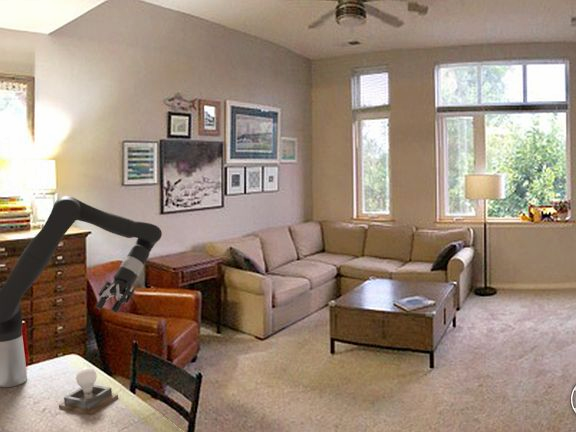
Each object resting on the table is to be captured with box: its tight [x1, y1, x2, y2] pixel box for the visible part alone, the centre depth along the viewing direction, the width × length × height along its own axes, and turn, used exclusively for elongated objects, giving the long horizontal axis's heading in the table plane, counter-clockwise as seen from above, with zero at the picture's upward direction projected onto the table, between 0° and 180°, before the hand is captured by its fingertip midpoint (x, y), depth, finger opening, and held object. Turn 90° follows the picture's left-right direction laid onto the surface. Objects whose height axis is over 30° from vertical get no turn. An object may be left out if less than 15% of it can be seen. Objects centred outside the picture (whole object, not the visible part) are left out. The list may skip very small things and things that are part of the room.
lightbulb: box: [75, 366, 98, 400], centre depth 169 cm, size 6×6×11 cm
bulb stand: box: [58, 384, 119, 416], centre depth 169 cm, size 14×12×4 cm
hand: (105, 309), depth 182 cm, fingers open, 8 cm apart
